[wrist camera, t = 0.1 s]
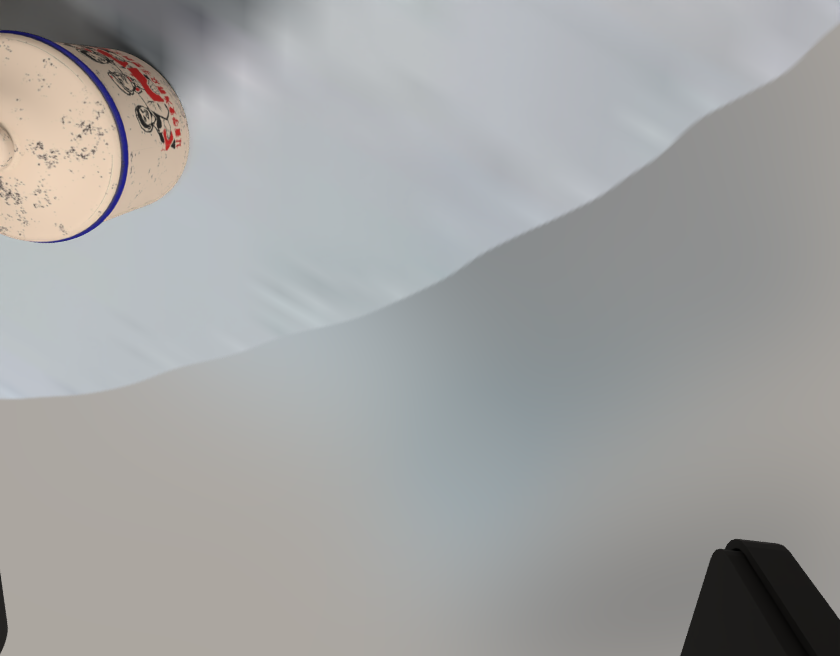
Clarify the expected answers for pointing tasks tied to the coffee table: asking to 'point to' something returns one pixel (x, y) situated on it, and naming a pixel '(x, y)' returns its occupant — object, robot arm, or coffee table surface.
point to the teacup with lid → (81, 137)
